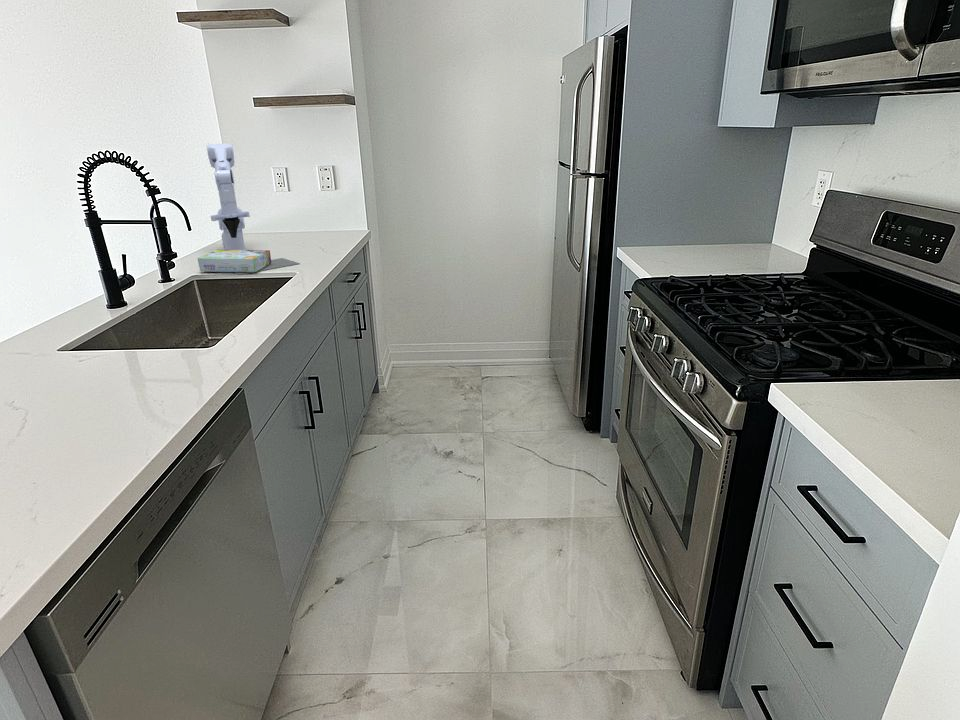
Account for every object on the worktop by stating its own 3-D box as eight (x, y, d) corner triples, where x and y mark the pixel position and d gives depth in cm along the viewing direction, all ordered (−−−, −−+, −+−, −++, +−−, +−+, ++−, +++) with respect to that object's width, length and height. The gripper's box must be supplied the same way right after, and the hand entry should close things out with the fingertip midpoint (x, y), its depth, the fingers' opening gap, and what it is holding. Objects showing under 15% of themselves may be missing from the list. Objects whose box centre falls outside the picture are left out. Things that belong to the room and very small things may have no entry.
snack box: (270, 248, 236) (253, 258, 222) (272, 263, 238) (255, 273, 224) (216, 248, 238) (196, 258, 224) (218, 262, 240) (199, 273, 226)
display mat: (223, 268, 232) (222, 268, 232) (282, 258, 248) (282, 257, 247) (239, 275, 223) (239, 274, 223) (300, 264, 238) (299, 263, 238)
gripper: (213, 205, 232) (219, 241, 237) (250, 201, 241) (255, 236, 246) (206, 203, 237) (212, 239, 242) (242, 199, 246) (248, 234, 251)
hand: (233, 237), depth 244 cm, fingers closed
